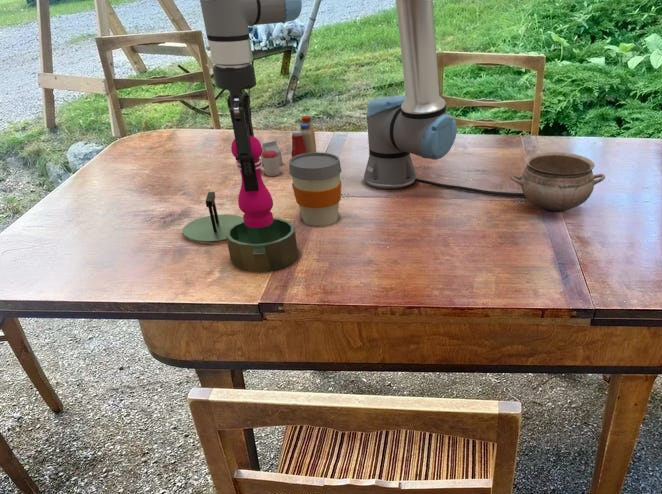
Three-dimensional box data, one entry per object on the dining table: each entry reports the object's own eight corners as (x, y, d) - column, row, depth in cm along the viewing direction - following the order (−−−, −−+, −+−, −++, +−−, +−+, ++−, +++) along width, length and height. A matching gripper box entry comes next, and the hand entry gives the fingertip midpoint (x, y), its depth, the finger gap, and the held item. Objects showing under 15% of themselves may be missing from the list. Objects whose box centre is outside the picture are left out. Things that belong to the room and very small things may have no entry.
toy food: (310, 152, 198) (306, 113, 191) (334, 161, 191) (331, 121, 184) (238, 170, 183) (230, 129, 176) (261, 181, 176) (254, 139, 169)
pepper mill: (246, 231, 128) (228, 135, 116) (238, 219, 133) (220, 125, 121) (280, 225, 130) (266, 130, 118) (270, 213, 135) (256, 121, 124)
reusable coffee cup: (286, 224, 151) (277, 164, 142) (310, 206, 161) (304, 149, 152) (330, 232, 148) (325, 171, 139) (353, 213, 157) (349, 155, 149)
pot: (297, 236, 146) (294, 211, 142) (297, 275, 130) (294, 247, 126) (235, 240, 143) (230, 214, 140) (227, 280, 127) (221, 252, 124)
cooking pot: (513, 223, 154) (518, 175, 146) (502, 195, 169) (505, 151, 162) (609, 221, 155) (619, 174, 148) (589, 194, 170) (597, 150, 163)
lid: (252, 217, 155) (246, 183, 149) (248, 243, 142) (241, 207, 137) (188, 220, 152) (180, 186, 147) (179, 247, 140) (169, 211, 135)
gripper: (217, 55, 120) (237, 172, 133) (206, 74, 105) (230, 202, 119) (256, 55, 121) (272, 170, 134) (250, 73, 106) (269, 200, 120)
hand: (252, 185), depth 127 cm, fingers closed on pepper mill, 5 cm apart
